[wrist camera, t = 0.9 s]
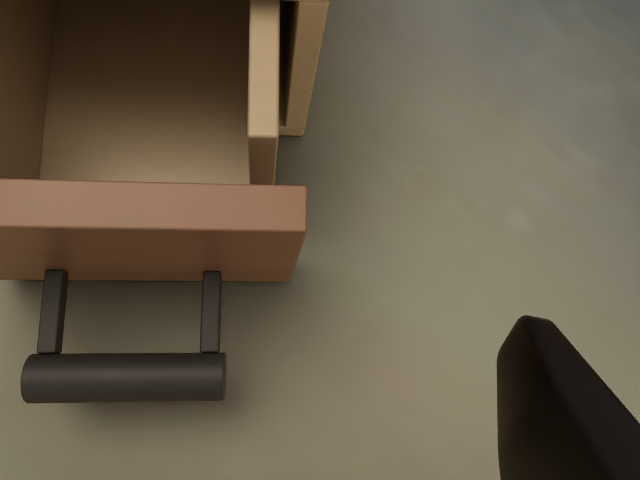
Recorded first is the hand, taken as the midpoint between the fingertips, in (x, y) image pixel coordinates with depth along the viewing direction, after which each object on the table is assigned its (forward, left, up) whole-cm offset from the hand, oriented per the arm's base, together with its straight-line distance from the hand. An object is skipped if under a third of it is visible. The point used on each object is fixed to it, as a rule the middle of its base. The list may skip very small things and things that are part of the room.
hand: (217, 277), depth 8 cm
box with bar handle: (+2, +7, -13) cm, 15 cm away
